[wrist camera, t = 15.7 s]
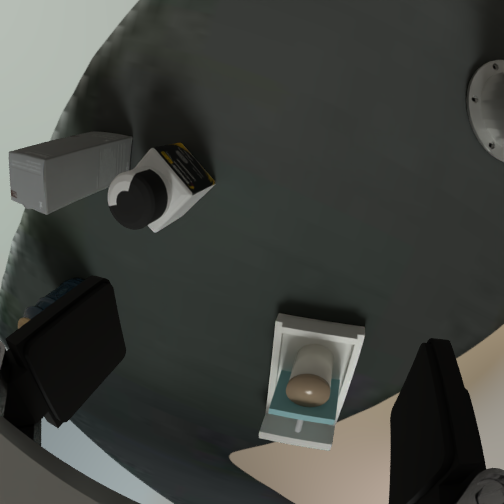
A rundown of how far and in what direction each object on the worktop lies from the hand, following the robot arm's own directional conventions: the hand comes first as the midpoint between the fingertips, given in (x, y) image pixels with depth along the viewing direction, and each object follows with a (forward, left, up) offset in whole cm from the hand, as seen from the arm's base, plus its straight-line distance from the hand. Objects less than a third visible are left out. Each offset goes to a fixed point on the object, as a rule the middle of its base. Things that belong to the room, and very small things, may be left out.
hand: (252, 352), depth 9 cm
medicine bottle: (+18, +2, -31) cm, 35 cm away
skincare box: (+30, -1, -31) cm, 43 cm away
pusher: (-2, +33, -29) cm, 44 cm away
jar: (-2, +26, -30) cm, 39 cm away
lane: (-2, +30, -30) cm, 43 cm away
